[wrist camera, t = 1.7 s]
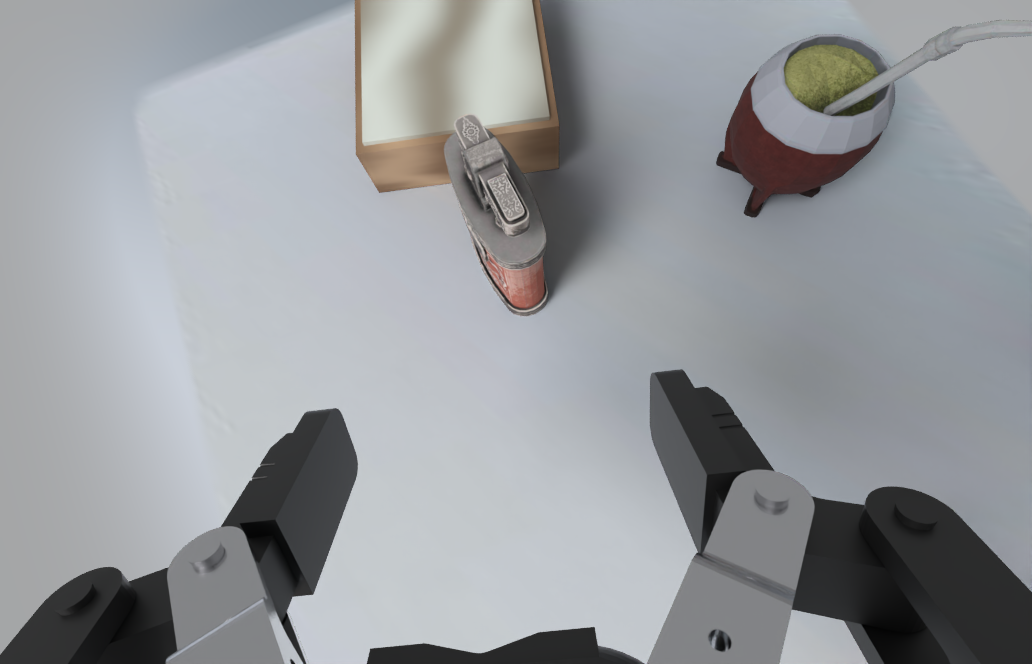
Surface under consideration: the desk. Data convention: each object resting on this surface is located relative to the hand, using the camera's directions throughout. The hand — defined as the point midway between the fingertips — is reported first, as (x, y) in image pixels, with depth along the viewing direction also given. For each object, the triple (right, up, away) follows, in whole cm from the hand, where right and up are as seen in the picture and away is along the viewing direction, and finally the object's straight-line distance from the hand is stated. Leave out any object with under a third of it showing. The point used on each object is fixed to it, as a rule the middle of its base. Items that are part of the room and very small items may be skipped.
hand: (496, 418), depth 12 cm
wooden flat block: (-3, +18, +21) cm, 28 cm away
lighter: (0, +7, +18) cm, 19 cm away
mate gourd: (+17, +12, +18) cm, 27 cm away
